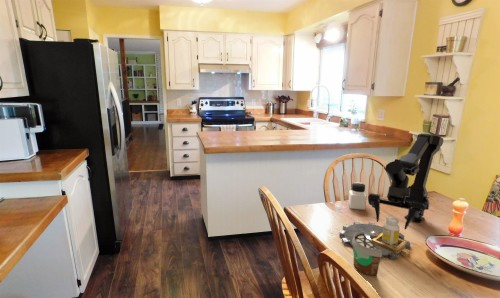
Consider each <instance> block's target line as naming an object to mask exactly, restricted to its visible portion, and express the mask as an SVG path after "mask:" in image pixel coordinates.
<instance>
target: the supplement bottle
mask: <svg viewBox="0 0 500 298" xmlns="http://www.w3.org/2000/svg"><path fill="white" fill-rule="evenodd" d="M385 219H386V221H385V222H384V223H383V225H382V227H383V234H382V243H384V244H386V245H389V246H391V247H395V246H397V245H398V237H399V233H400V230H401V229H400V225H399V219H398V218H397V217H394V216H388V217H386V218H385Z"/></svg>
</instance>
